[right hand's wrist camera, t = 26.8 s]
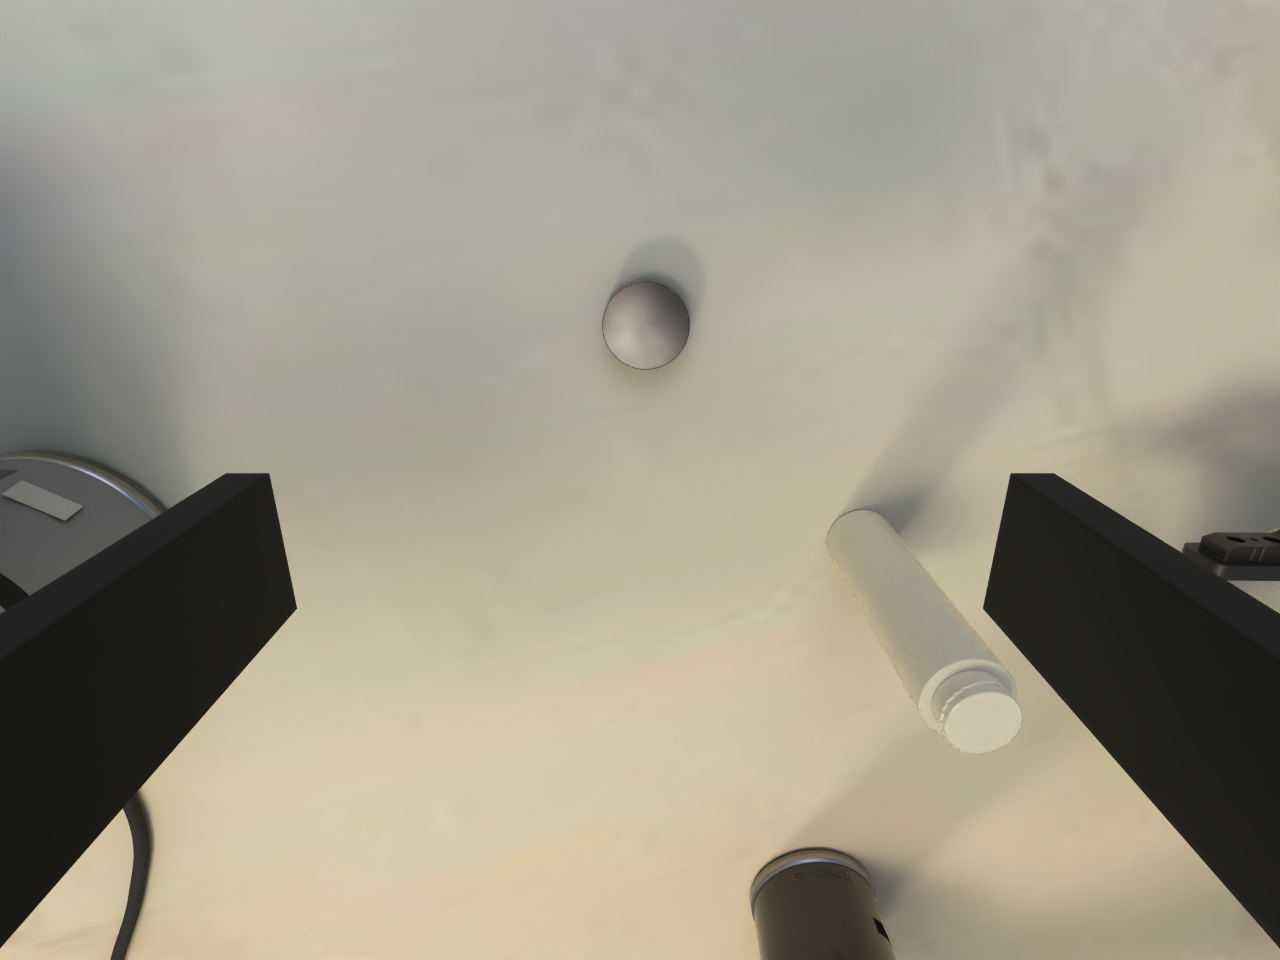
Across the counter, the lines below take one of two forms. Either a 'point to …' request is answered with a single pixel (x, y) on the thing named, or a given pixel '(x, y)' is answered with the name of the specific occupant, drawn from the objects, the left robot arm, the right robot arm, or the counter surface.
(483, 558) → the counter surface
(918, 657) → the bottle
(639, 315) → the lid
